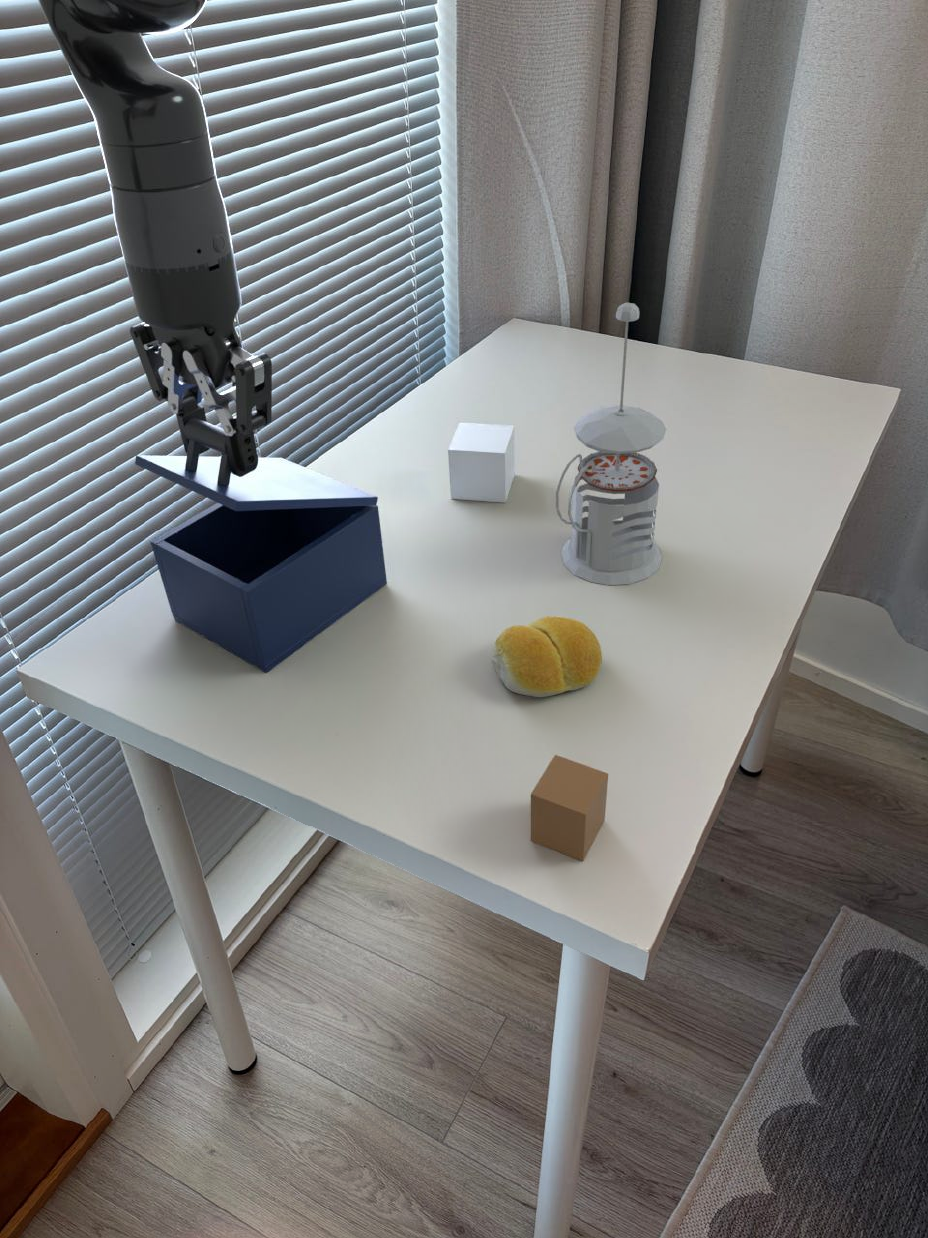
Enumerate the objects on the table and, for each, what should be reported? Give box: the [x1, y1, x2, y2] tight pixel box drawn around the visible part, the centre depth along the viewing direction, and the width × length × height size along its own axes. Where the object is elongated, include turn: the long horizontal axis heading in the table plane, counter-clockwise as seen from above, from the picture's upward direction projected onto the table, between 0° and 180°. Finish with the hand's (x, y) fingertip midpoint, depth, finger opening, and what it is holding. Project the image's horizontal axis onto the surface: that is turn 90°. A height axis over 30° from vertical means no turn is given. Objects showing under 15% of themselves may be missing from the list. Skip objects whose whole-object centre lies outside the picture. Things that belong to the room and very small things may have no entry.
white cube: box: [447, 422, 516, 504], centre depth 102 cm, size 6×6×6 cm
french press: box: [555, 302, 667, 586], centre depth 85 cm, size 10×12×25 cm
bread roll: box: [491, 615, 603, 698], centre depth 79 cm, size 8×9×4 cm
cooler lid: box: [134, 418, 379, 511], centre depth 81 cm, size 16×13×5 cm
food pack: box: [530, 754, 609, 862], centre depth 66 cm, size 4×4×5 cm
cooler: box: [150, 502, 388, 674], centre depth 87 cm, size 16×13×9 cm
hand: (222, 461), depth 77 cm, fingers closed on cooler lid, 5 cm apart
